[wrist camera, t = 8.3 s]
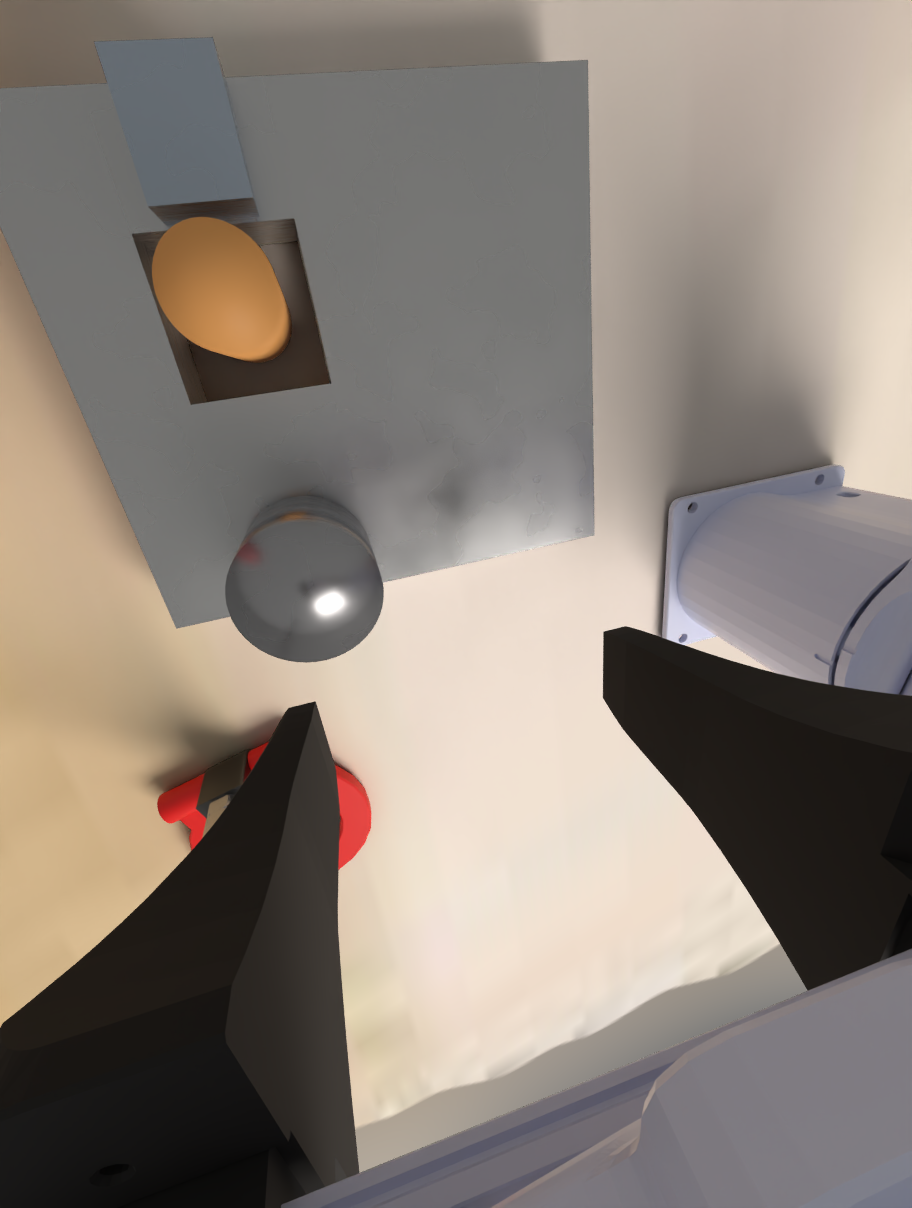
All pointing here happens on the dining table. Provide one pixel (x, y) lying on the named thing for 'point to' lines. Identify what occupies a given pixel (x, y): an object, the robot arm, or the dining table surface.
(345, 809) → the tow hook
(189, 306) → the orange rounded capsule
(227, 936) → the robot arm
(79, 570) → the dining table surface
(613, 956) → the dining table surface
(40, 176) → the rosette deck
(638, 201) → the dining table surface
